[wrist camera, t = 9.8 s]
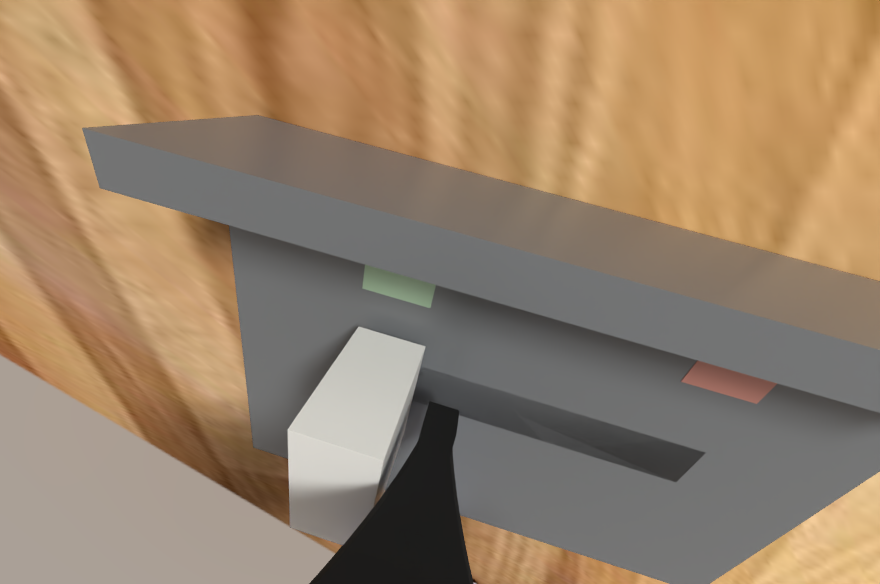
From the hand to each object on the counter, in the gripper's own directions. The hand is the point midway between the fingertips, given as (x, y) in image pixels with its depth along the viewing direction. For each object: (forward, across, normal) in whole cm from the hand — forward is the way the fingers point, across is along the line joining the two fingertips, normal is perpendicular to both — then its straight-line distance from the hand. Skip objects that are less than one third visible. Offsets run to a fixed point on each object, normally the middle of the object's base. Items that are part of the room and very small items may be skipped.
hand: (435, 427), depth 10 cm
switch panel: (+3, -2, 0) cm, 4 cm away
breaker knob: (+1, +2, 0) cm, 2 cm away
